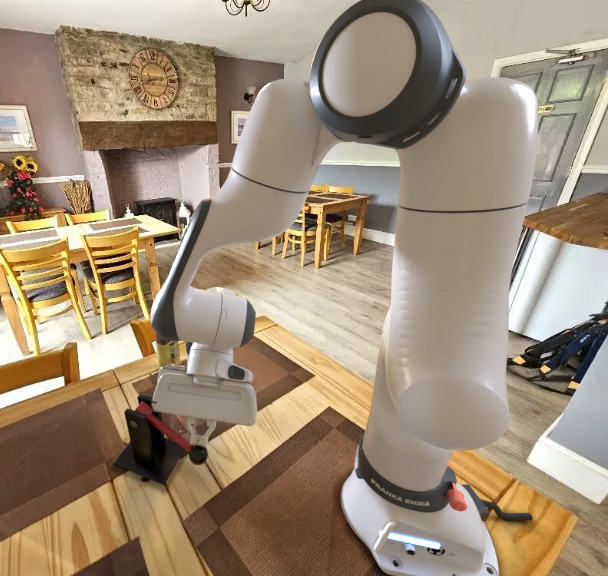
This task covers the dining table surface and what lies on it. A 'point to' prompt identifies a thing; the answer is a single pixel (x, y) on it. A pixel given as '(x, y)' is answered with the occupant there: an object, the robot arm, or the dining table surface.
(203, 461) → the lever
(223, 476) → the dining table surface
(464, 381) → the robot arm
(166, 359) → the sauce bottle
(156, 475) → the bracket
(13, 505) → the dining table surface
